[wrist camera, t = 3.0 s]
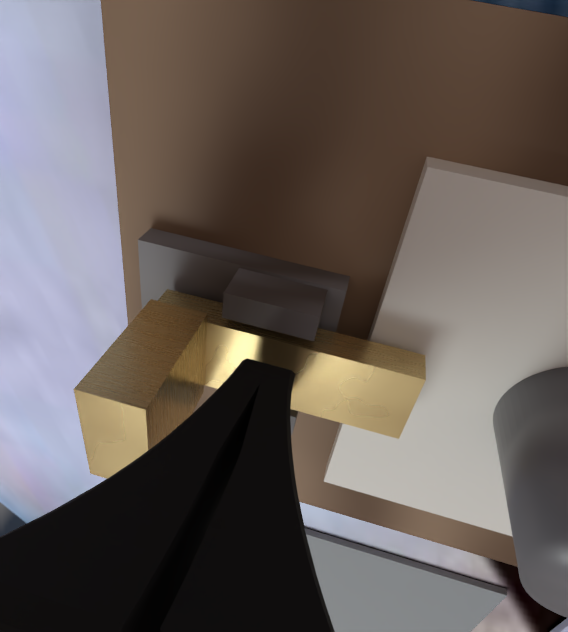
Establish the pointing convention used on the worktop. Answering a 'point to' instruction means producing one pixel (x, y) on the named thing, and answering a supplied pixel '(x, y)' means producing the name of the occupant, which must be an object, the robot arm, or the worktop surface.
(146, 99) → the board
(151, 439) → the notched brass block
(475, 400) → the cover
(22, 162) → the worktop surface
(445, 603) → the mat
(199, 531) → the robot arm
